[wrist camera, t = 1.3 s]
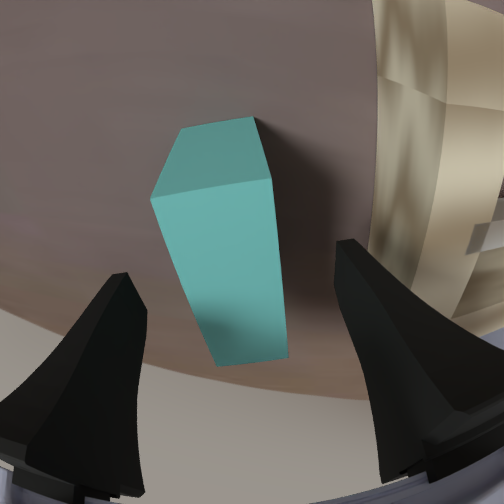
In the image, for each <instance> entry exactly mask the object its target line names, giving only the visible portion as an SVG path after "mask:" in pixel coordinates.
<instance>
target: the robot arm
mask: <svg viewBox="0 0 504 504" xmlns="http://www.w3.org/2000/svg"><path fill="white" fill-rule="evenodd" d="M334 287H335V291H336V295H337V299H338V303H339V306H340V310H341V313H342V315H343V318H344V321H345V323H346V326H347V328H348V331H349V334H350V336H351V339H352V342H353V344H354V347H355V350H356V352H357V355H358V358H359V360H360V363H361V367H362V370H363V373H364V377H365V382H366V386H367V390H368V395H369V400H370V405H371V410H372V415H373V421H374V427H375V434H376V440H377V450H378V459H379V471H380V477H381V482H382V484H384V483H387V482H390V481H393V480H396V479H399V478H402V477H405V476H408V477H409V478H406V479H404V480H401V481H398V482H395V483H392V484H389V485H385V486H382V487H379V488H376V489H372V490H369V491H365V492H361V493H357V494H353V495H349V496H345V497H341V498H337V499H332V500H327V501H321V502H316V503H310V504H504V327H503V328H500V329H498V330H496V331H493V332H491V333H488V334H486V335H483V336H481V337H477V336H475V335H474V334H472V333H470V332H468V331H467V330H465V329H464V328H462V327H460V326H459V325H457V324H456V323H454V322H452V321H451V320H449V319H448V318H446V317H445V316H443V315H442V314H441V313H439V312H438V311H436V310H435V309H434V308H432V307H431V306H430V305H428V304H427V303H426V302H424V301H423V300H422V299H420V298H419V297H418V296H417V295H415V294H414V293H413V292H412V291H411V290H409V289H408V288H407V287H406V286H405V285H404V284H402V283H401V282H400V281H399V280H398V279H397V278H396V277H395V276H393V275H392V274H391V273H390V272H389V271H388V270H387V269H386V268H385V267H384V266H382V265H381V264H380V263H379V262H378V261H377V260H376V259H375V258H374V257H373V256H372V255H371V254H370V253H369V252H368V251H367V250H366V249H365V248H363V247H362V246H361V245H360V244H359V243H358V242H357V241H356V240H355V239H348V240H341V241H336V260H335V275H334ZM146 332H147V309H146V307H145V305H144V303H143V301H142V300H141V298H140V296H139V294H138V292H137V290H136V288H135V286H134V285H133V283H132V281H131V279H130V277H129V275H128V273H127V272H125V273H118V274H112V276H111V277H110V278H109V279H108V280H107V281H106V283H105V284H104V285H103V287H102V288H101V289H100V291H99V292H98V293H97V295H96V296H95V297H94V299H93V300H92V301H91V303H90V304H89V305H88V307H87V308H86V309H85V311H84V312H83V313H82V315H81V316H80V318H79V319H78V320H77V321H76V323H75V324H74V325H73V327H72V328H71V329H70V331H69V332H68V333H67V334H66V336H65V337H64V338H63V340H62V341H61V342H60V343H59V345H58V346H57V347H56V348H55V349H54V351H53V352H52V353H51V354H50V355H49V356H48V357H47V359H46V360H45V361H44V362H43V363H42V364H41V365H40V366H39V367H38V368H37V369H36V370H35V371H34V372H33V373H32V374H31V375H30V376H29V377H28V378H27V379H26V380H25V381H24V382H23V383H22V384H21V385H20V386H19V387H18V388H17V389H16V390H14V391H13V392H12V393H11V394H10V395H9V396H7V397H6V398H5V399H4V400H2V401H1V402H0V459H1V460H3V461H5V462H6V463H8V464H11V465H13V466H14V471H13V472H12V471H10V470H8V469H5V468H3V467H1V466H0V504H120V503H114V502H110V497H112V498H118V499H119V498H120V495H123V496H130V497H137V498H139V497H141V496H142V495H143V494H144V493H145V489H144V485H143V479H142V473H141V467H140V460H139V459H140V458H139V450H138V437H137V394H138V385H139V378H140V372H141V365H142V359H143V353H144V347H145V341H146Z"/></svg>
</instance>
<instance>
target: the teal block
mask: <svg viewBox="0 0 504 504" xmlns="http://www.w3.org/2000/svg"><path fill="white" fill-rule="evenodd" d="M150 200H151V203H152V206H153V209H154V212H155V214H156V217H157V220H158V223H159V226H160V229H161V231H162V234H163V237H164V240H165V242H166V245H167V248H168V250H169V253H170V256H171V258H172V261H173V264H174V266H175V269H176V271H177V274H178V276H179V279H180V282H181V284H182V287H183V289H184V292H185V294H186V296H187V299H188V301H189V304H190V306H191V309H192V311H193V313H194V316H195V318H196V320H197V323H198V325H199V327H200V330H201V332H202V334H203V337H204V339H205V341H206V343H207V346H208V348H209V350H210V352H211V355H212V357H213V359H214V361H215V363H216V366H217V367H218V366H228V365H238V364H247V363H255V362H262V361H270V360H277V359H284V358H288V345H287V332H286V320H285V308H284V297H283V286H282V275H281V264H280V254H279V244H278V234H277V224H276V215H275V205H274V196H273V187H272V178H271V175H270V171H269V168H268V164H267V161H266V157H265V154H264V151H263V147H262V144H261V141H260V137H259V134H258V131H257V128H256V124H255V121H254V118H253V116H252V117H245V118H239V119H232V120H226V121H220V122H214V123H209V124H203V125H198V126H193V127H188V128H183V129H181V131H180V133H179V135H178V137H177V139H176V141H175V143H174V145H173V147H172V150H171V152H170V154H169V156H168V158H167V161H166V163H165V165H164V167H163V170H162V172H161V174H160V176H159V179H158V181H157V183H156V186H155V188H154V191H153V193H152V195H151V198H150Z"/></svg>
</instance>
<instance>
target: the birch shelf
mask: <svg viewBox="0 0 504 504" xmlns="http://www.w3.org/2000/svg"><path fill="white" fill-rule="evenodd" d="M372 4H373V13H374V24H375V37H376V54H377V81H378V124H377V153H376V171H375V185H374V197H373V208H372V218H371V227H370V235H369V243H368V252H369V253H370V254H371V255H372V256H373V257H374V258H375V259H376V260H377V261H378V262H379V263H380V264H381V265H382V266H384V267H385V268H386V269H387V270H388V271H389V272H390V273H391V274H392V275H393V276H395V277H396V278H397V279H398V280H399V281H400V282H401V283H402V284H404V285H405V286H406V287H407V288H408V289H409V290H411V291H412V292H413V293H414V294H415V295H417V296H418V297H419V298H420V299H422V300H423V301H424V302H426V303H427V304H428V305H430V306H431V307H432V308H434V309H435V310H436V311H438V312H439V313H441V314H442V315H443V316H445V317H446V318H448V319H449V320H451V321H452V322H454V323H456V324H457V325H459V326H460V327H462V328H464V329H465V330H467V331H468V332H470V333H472V334H474V335H475V336H477V337H481V336H483V335H486V334H488V333H491V332H493V331H496V330H498V329H500V328H503V327H504V198H498V196H499V192H500V189H501V185H502V181H503V177H504V15H503V14H500V13H498V12H496V11H493V10H491V9H488V8H486V7H483V6H480V5H478V4H475V3H472V2H469V1H467V0H372Z"/></svg>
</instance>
